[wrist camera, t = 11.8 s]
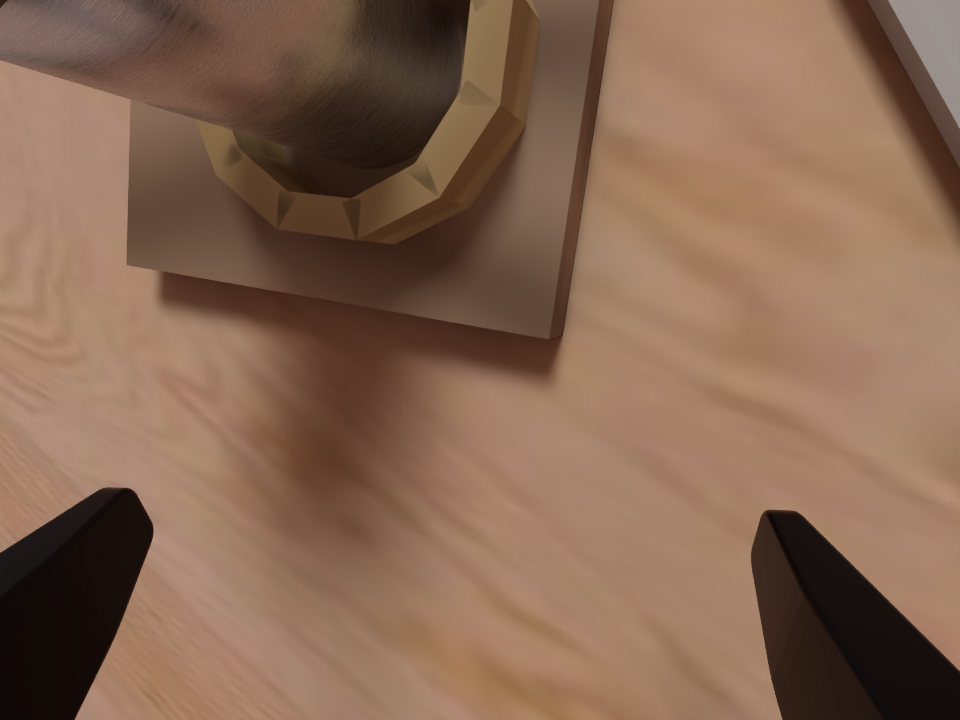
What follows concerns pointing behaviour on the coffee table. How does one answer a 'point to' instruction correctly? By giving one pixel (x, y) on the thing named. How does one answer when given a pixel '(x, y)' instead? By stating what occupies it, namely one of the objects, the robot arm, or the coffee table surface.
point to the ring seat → (399, 188)
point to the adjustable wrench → (928, 56)
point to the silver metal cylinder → (259, 65)
